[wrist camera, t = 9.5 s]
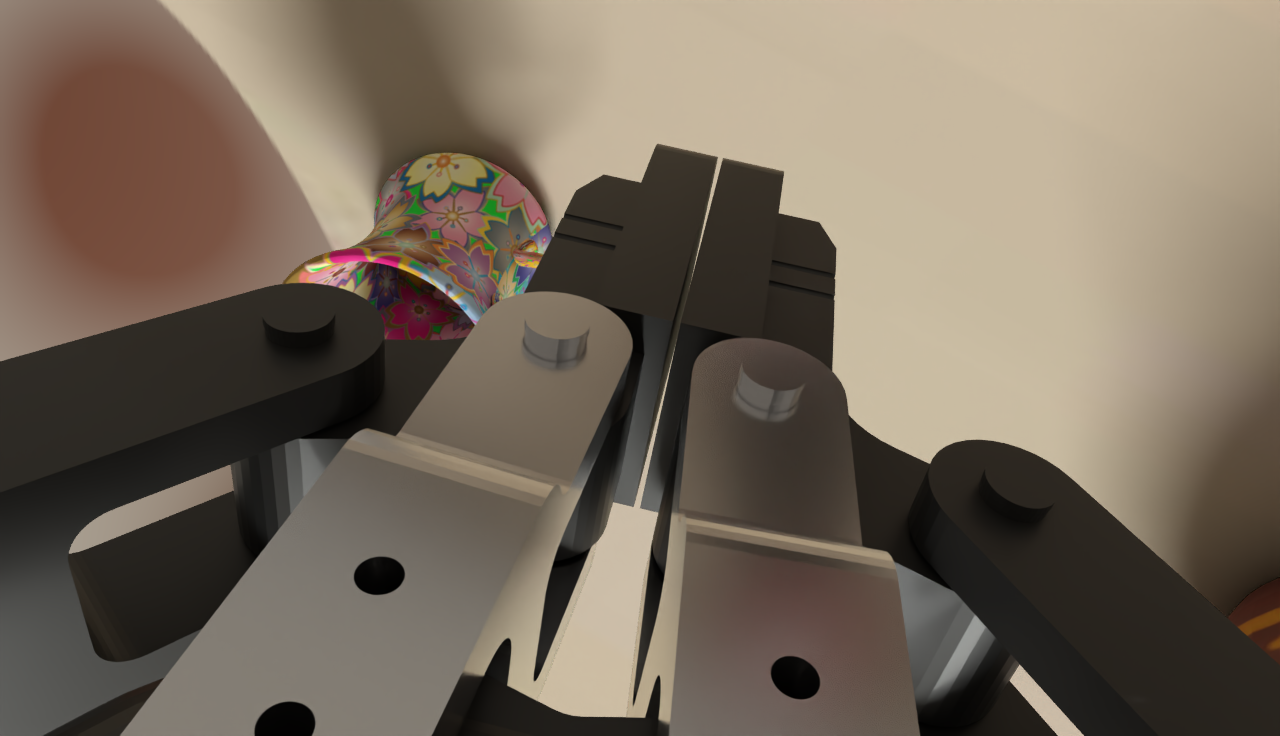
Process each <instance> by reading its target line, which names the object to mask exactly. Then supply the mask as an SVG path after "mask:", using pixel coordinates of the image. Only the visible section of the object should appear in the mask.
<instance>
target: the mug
mask: <svg viewBox="0 0 1280 736" xmlns="http://www.w3.org/2000/svg"><path fill="white" fill-rule="evenodd" d="M551 239H552V236H551V231H550V228H549V225H548V222H547V219H546V217H545V215H544V213H543V211H542V209H541V207H540V206H539V204H538V202H537V201H536V199H535V198H534V197H533V196H532V194H531V193H530V192H529V191H528V190H527V189H526V187H525V186H524V185H523V184H522V183H520V182H519V181H518V180H517V179H516V178H515V177H513V176H512V175H511V174H509V173H508V172H507V171H505V170H503V169H502V168H500V167H498V166H496V165H494V164H493V163H490V162H488V161H486V160H483V159H480V158H477V157H474V156H470V155H466V154H459V153H436V154H429V155H426V156H422V157H419V158H417V159H414V160H412V161H410V162H408V163H406V164H404V165H403V166H402V167H400V168H399V169H397V170H396V171H395V172H394V173H393V174H392V175H391V176H390V177H389V179H388V180H387V181H386V183H385V184H384V186H383V187H382V189H381V191H380V194H379V196H378V199H377V203H376V207H375V214H374V229H373V231H372V232H371V233H370V234H369V235H368V236H367V237H366V238H365V239H364V240H363V241H361V242H360V243H358V244H356V245H355V246H352V247H350V248H347V249H342V250H336V251H332V252H328V253H324V254H322V255H319V256H316V257H314V258H312V259H310V260H308V261H306V262H304V263H303V264H301V265H300V266H299V267H297V268H296V269H295V270H294V271H293V272H292V273H291V274H290V275H289V276H288V277H287V278H286V279H285V281H284V282H283V283H282V284H288V283H317V284H324V285H331V286H335V287H339V288H342V289H346V290H348V291H351V292H353V293H356V294H357V295H359V296H361V297H363V298H365V299H366V300H367V301H369V302H370V303H371V304H372V305H374V306H375V308H376V309H377V310H378V311H379V312H380V314H381V316H382V318H383V320H384V326H385V339H400V340H448V339H456V338H462V337H467V336H468V335H469V333H470V332H471V331H472V329H473V328H474V326H475V325H476V324H477V322H478V321H479V319H480V318H481V317H482V315H483V314H484V313H485V312H486V311H487V310H488V308H490V307H491V306H493V305H494V304H495V303H497V302H499V301H501V300H503V299H505V298H508V297H511V296H514V295H518V294H523V293H524V292H525V290H526V288H527V286H528V284H529V282H530V280H531V278H532V276H533V274H534V272H535V270H536V268H537V266H538V264H539V262H540V260H541V258H542V257H543V255H544V253H545V251H546V249H547V247H548V245H549V243H550V241H551Z"/></svg>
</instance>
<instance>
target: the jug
mask: <svg viewBox="0 0 1280 736" xmlns="http://www.w3.org/2000/svg"><path fill="white" fill-rule="evenodd" d="M1228 619H1229V620H1230V621H1231V622H1232V623H1233V624H1235V625H1236V626H1237V627H1238V628H1239V629H1240V630H1241V631H1242V632H1243V633H1245V634H1246V635H1247V636H1248V637H1249V638H1250V639H1251V640H1252V641H1254V642H1255V643H1256V644H1257V645H1258V646H1259V647H1260V648H1261V649H1262V650H1264V651H1265V652H1266V653H1267V654H1268V655H1269V656H1270V657H1271V658H1273V659H1274V660H1275V661H1276V662H1277V663H1278V664H1279V665H1280V578H1278V579H1275V580H1273V581H1271V582H1269V583H1266V584H1264V585H1263V586H1261V587H1259V588H1258V589H1256V590H1254V591H1253V592H1252V593H1250V594H1249V595H1248V596H1247V597H1245V598H1244V599H1243V601H1242V602H1241V603H1240V604H1239V605H1238V606H1237V607H1236V608H1235V610H1234V611H1233V612H1232V613H1231V614H1230V616H1229V617H1228Z"/></svg>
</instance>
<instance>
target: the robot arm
mask: <svg viewBox="0 0 1280 736" xmlns="http://www.w3.org/2000/svg"><path fill="white" fill-rule="evenodd" d="M717 159H718V157H715V156H710V155H706V154H701V153H697V152H692V151H688V150H683V149H679V148H674V147H670V146H665V145H661V144H657V145H656V147H655V149H654V152H653V154H652V157H651V159H650V162H649V164H648V167H647V170H646V172H645V175H644V177H643V180H642V182H641V183H639V182H635V181H630V180H626V179H621V178H617V177H612V176H608V175H602V176H601V177H599V178H597V179H595V180H594V181H592V182H590V183H588V184H587V185H585V186H583V187H581V188H580V189H578V190H576V192H575V194H574V196H573V198H572V200H571V202H570V204H569V206H568V208H567V210H566V212H565V214H564V218H562V219H561V221H560V223H559V225H558V227H557V229H556V231H555V235H554V237H552V239H551V241H550V243H549V245H548V247H547V249H546V251H545V253H544V255H543V257H542V258H541V260H540V262H539V264H538V266H537V268H536V270H535V272H534V274H533V276H532V278H531V280H530V282H529V284H528V286H527V288H526V290H525V292H524V293H523V294H518V295H514V296H511V297H508V298H505V299H503V300H501V301H499V302H497V303H495V304H494V305H493V306H491V307H490V308H488V310H487V311H486V312H485V313H484V314H483V315H482V317H481V318H480V319H479V321H478V322H477V324H476V325H475V326H474V328H473V329H472V331H471V332H470V333H469V335H468V336H467V337H462V338H456V339H448V340H400V339H385V326H384V320H383V318H382V316H381V314H380V312H379V311H378V310H377V309H376V308H375V306H374V305H372V304H371V303H370V302H369V301H367V300H366V299H365V298H363V297H361V296H359V295H357V294H356V293H353V292H351V291H348V290H346V289H342V288H339V287H335V286H331V285H324V284H317V283H288V284H280V285H274V286H269V287H265V288H261V289H257V290H254V291H250V292H247V293H243V294H240V295H236V296H232V297H229V298H225V299H221V300H218V301H214V302H211V303H208V304H204V305H200V306H197V307H193V308H190V309H186V310H183V311H179V312H175V313H172V314H168V315H164V316H161V317H157V318H154V319H150V320H147V321H144V322H139V323H136V324H132V325H129V326H125V327H122V328H118V329H115V330H111V331H107V332H104V333H100V334H97V335H93V336H90V337H86V338H82V339H79V340H75V341H72V342H68V343H65V344H61V345H58V346H54V347H51V348H47V349H43V350H40V351H36V352H33V353H29V354H25V355H22V356H19V357H15V358H11V359H8V360H4V361H0V736H1058V735H1057V734H1056V733H1055V732H1054V731H1053V730H1052V729H1051V728H1050V726H1049V725H1048V724H1047V723H1046V722H1045V721H1044V720H1043V718H1042V717H1041V716H1040V715H1039V714H1038V713H1037V712H1036V711H1035V709H1034V708H1033V707H1032V706H1031V705H1030V704H1029V703H1028V701H1027V700H1026V699H1025V698H1024V697H1023V696H1022V695H1021V693H1020V692H1019V691H1018V690H1017V689H1016V688H1015V687H1014V686H1013V684H1012V683H1011V682H1010V681H1009V680H1010V679H1011V677H1012V675H1013V674H1014V672H1015V671H1016V669H1017V668H1018V666H1019V664H1020V665H1021V666H1022V667H1023V668H1024V670H1025V671H1026V672H1027V673H1028V674H1029V675H1030V676H1031V677H1032V678H1033V680H1034V681H1035V682H1036V683H1037V684H1038V685H1039V686H1040V687H1041V688H1042V689H1043V691H1044V692H1045V693H1046V694H1047V695H1048V696H1049V697H1050V698H1051V699H1052V701H1053V702H1054V703H1055V704H1056V705H1057V706H1058V707H1059V708H1060V709H1061V711H1062V712H1063V713H1064V714H1065V715H1066V716H1067V717H1068V718H1069V719H1070V721H1071V722H1072V723H1073V724H1074V725H1075V726H1076V727H1077V728H1078V729H1079V730H1080V732H1081V733H1082V734H1083V735H1084V736H1280V665H1279V664H1278V663H1277V662H1276V661H1275V660H1274V659H1273V658H1271V657H1270V656H1269V655H1268V654H1267V653H1266V652H1265V651H1264V650H1262V649H1261V648H1260V647H1259V646H1258V645H1257V644H1256V643H1255V642H1254V641H1252V640H1251V639H1250V638H1249V637H1248V636H1247V635H1246V634H1245V633H1243V632H1242V631H1241V630H1240V629H1239V628H1238V627H1237V626H1236V625H1235V624H1233V623H1232V622H1231V621H1230V620H1229V619H1228V618H1227V617H1226V616H1224V615H1223V614H1222V613H1221V612H1220V611H1219V610H1218V609H1217V608H1216V607H1214V606H1213V605H1212V604H1211V603H1210V602H1209V601H1208V600H1207V599H1205V598H1204V597H1203V596H1202V595H1201V594H1200V593H1199V592H1198V591H1197V590H1195V589H1194V588H1193V587H1192V586H1191V585H1190V584H1189V583H1188V582H1186V581H1185V580H1184V579H1183V578H1182V577H1181V576H1180V575H1179V574H1178V573H1176V572H1175V571H1174V570H1173V569H1172V568H1171V567H1170V566H1169V565H1167V564H1166V563H1165V562H1164V561H1163V560H1162V559H1161V558H1160V557H1159V556H1157V555H1156V554H1155V553H1154V552H1153V551H1152V550H1151V549H1150V548H1148V547H1147V546H1146V545H1145V544H1144V543H1143V542H1142V541H1141V540H1140V539H1138V538H1137V537H1136V536H1135V535H1134V534H1133V533H1132V532H1131V531H1129V530H1128V529H1127V528H1126V527H1125V526H1124V525H1123V524H1122V523H1121V522H1119V521H1118V520H1117V519H1116V518H1115V517H1114V516H1113V515H1112V514H1110V513H1109V512H1108V511H1107V510H1106V509H1105V508H1104V507H1103V506H1102V505H1100V504H1099V503H1098V502H1097V501H1096V500H1095V499H1094V498H1093V497H1091V496H1090V495H1089V494H1088V493H1087V492H1086V491H1085V490H1084V489H1083V488H1081V487H1080V486H1079V485H1078V484H1077V483H1076V482H1075V481H1074V480H1072V479H1071V478H1070V477H1069V476H1068V475H1066V474H1065V473H1064V472H1063V471H1061V470H1060V469H1059V468H1057V467H1056V466H1054V465H1053V464H1051V463H1050V462H1048V461H1047V460H1045V459H1043V458H1041V457H1039V456H1037V455H1035V454H1033V453H1031V452H1028V451H1026V450H1024V449H1021V448H1018V447H1015V446H1012V445H1009V444H1005V443H1000V442H995V441H988V440H966V441H961V442H956V443H953V444H951V445H948V446H946V447H944V448H943V449H942V450H940V451H939V452H938V453H937V454H936V455H935V456H934V458H933V459H932V461H931V463H930V464H928V463H926V462H924V461H922V460H920V459H918V458H916V457H913V456H911V455H909V454H907V453H905V452H903V451H901V450H898V449H896V448H894V447H892V446H890V445H888V444H886V443H885V442H883V441H881V440H879V439H878V438H876V437H874V436H873V435H871V434H870V433H868V432H867V431H866V430H864V429H863V428H862V427H861V426H859V425H858V424H857V423H856V422H855V421H854V420H853V419H852V418H851V417H850V416H849V415H848V405H847V398H846V393H845V390H844V388H843V386H842V384H841V382H840V381H839V379H838V378H837V377H836V375H835V374H834V373H833V372H832V361H833V331H834V302H835V300H834V296H835V279H834V277H835V272H836V247H835V246H834V244H833V243H832V241H831V240H830V238H829V237H828V235H827V234H826V232H825V231H824V229H823V228H822V226H821V224H820V223H819V222H815V221H811V220H806V219H802V218H797V217H793V216H788V215H784V214H779V205H780V198H781V191H782V184H783V176H784V171H779V170H775V169H770V168H766V167H761V166H757V165H752V164H748V163H743V162H739V161H734V160H729V159H725V158H723V161H722V164H721V168H720V172H719V176H718V180H717V184H716V188H715V191H714V195H713V199H712V203H711V207H710V211H709V215H708V219H707V222H706V226H705V230H704V234H703V238H702V242H701V246H700V249H699V253H698V257H697V261H696V256H697V252H698V247H699V242H700V238H701V233H702V229H703V224H704V220H705V215H706V210H707V206H708V201H709V197H710V192H711V188H712V183H713V178H714V174H715V169H716V164H717ZM695 261H696V265H695ZM694 265H695V269H694ZM693 270H694V273H693ZM692 274H693V277H692ZM691 279H692V280H691ZM690 283H691V284H690ZM675 345H676V346H675ZM674 349H675V351H674ZM673 352H674V355H673ZM672 356H673V360H672ZM671 360H672V364H671ZM670 364H671V369H670V373H669V378H668V383H667V387H666V392H665V396H664V401H663V406H662V410H661V415H660V419H659V424H658V429H657V433H656V438H655V442H654V447H653V451H652V456H651V461H650V465H649V470H648V474H647V479H646V484H645V488H644V493H643V497H642V502H641V507H640V508H642V509H646V510H650V511H654V512H659V513H658V517H657V522H656V526H655V531H654V535H653V540H652V544H651V549H650V553H649V557H648V561H647V566H646V570H645V574H644V579H643V587H642V595H641V603H640V611H639V619H638V627H637V635H636V643H635V650H634V658H633V666H632V674H631V682H630V690H629V698H628V706H627V714H626V717H579V716H571V715H567V714H563V713H561V712H558V711H556V710H554V709H552V708H550V707H548V706H546V705H544V704H542V703H540V702H538V699H539V697H540V694H541V692H542V689H543V686H544V684H545V681H546V679H547V676H548V674H549V671H550V669H551V666H552V664H553V661H554V659H555V656H556V654H557V651H558V649H559V646H560V644H561V641H562V638H563V636H564V633H565V631H566V628H567V626H568V623H569V621H570V618H571V616H572V613H573V611H574V608H575V606H576V603H577V601H578V598H579V595H580V593H581V590H582V588H583V585H584V583H585V580H586V578H587V575H588V573H589V570H590V568H591V565H592V562H593V558H594V553H595V548H596V543H597V541H598V540H599V538H600V537H601V536H602V534H603V532H604V530H605V527H606V525H607V521H608V518H609V514H610V511H611V507H612V504H613V502H615V503H619V504H624V505H628V506H632V507H634V504H635V500H636V496H637V492H638V488H639V484H640V480H641V476H642V473H643V469H644V465H645V461H646V457H647V453H648V449H649V445H650V442H651V438H652V434H653V430H654V426H655V422H656V418H657V414H658V411H659V407H660V403H661V399H662V395H663V391H664V387H665V383H666V380H667V376H668V372H669V368H670ZM230 464H231V471H232V479H233V487H234V491H232V492H229V493H227V494H225V495H222V496H219V497H217V498H214V499H212V500H209V501H207V502H204V503H202V504H199V505H197V506H194V507H192V508H189V509H187V510H184V511H182V512H179V513H176V514H174V515H172V516H169V517H166V518H164V519H162V520H159V521H157V522H154V523H151V524H149V525H146V526H144V527H141V528H139V529H136V530H134V531H132V532H129V533H126V534H124V535H121V536H119V537H116V538H114V539H111V540H109V541H107V542H104V543H102V544H99V545H96V546H94V547H91V548H89V549H86V550H83V551H80V552H76V553H72V554H69V550H70V547H71V544H72V543H73V541H74V539H75V537H76V536H77V535H78V534H79V532H80V531H81V530H82V529H83V528H84V527H85V526H86V525H87V524H89V523H90V522H91V521H93V520H94V519H95V518H97V517H99V516H100V515H102V514H104V513H106V512H108V511H110V510H113V509H115V508H117V507H120V506H123V505H125V504H128V503H131V502H133V501H136V500H139V499H141V498H144V497H146V496H149V495H152V494H154V493H157V492H159V491H162V490H165V489H167V488H170V487H173V486H175V485H178V484H181V483H183V482H186V481H188V480H191V479H194V478H196V477H199V476H201V475H204V474H207V473H209V472H211V471H214V470H217V469H220V468H222V467H225V466H227V465H230Z"/></svg>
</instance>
